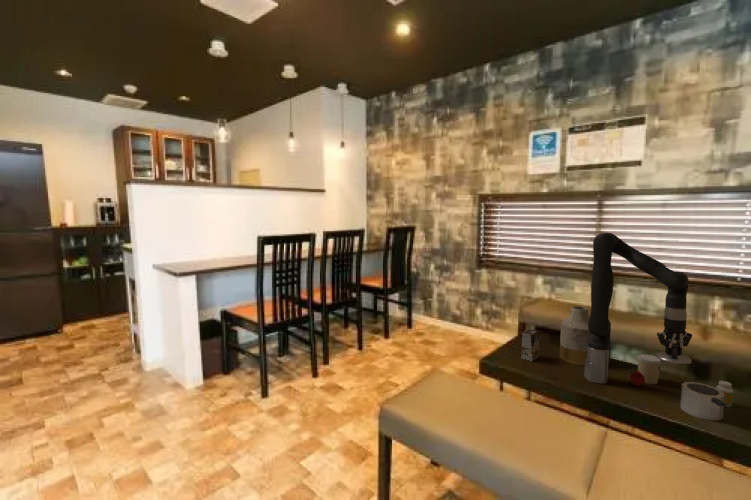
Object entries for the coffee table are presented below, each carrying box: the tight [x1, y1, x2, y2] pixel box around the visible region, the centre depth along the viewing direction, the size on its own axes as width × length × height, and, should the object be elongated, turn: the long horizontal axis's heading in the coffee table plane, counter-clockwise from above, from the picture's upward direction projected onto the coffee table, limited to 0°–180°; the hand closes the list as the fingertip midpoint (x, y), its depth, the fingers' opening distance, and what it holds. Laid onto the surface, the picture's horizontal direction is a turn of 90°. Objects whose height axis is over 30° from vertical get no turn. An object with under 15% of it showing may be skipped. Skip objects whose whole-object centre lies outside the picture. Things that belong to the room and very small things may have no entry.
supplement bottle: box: [715, 380, 734, 408], centre depth 156 cm, size 5×5×10 cm
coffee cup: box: [637, 353, 662, 385], centre depth 178 cm, size 9×9×12 cm
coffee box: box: [520, 328, 540, 362], centre depth 207 cm, size 9×6×16 cm
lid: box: [655, 342, 692, 365], centre depth 156 cm, size 12×12×7 cm
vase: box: [559, 305, 590, 366], centre depth 204 cm, size 18×18×30 cm
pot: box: [679, 380, 727, 422], centre depth 150 cm, size 19×13×10 cm
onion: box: [629, 369, 645, 387], centre depth 173 cm, size 6×6×8 cm
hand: (673, 354), depth 156 cm, fingers closed on lid, 3 cm apart
